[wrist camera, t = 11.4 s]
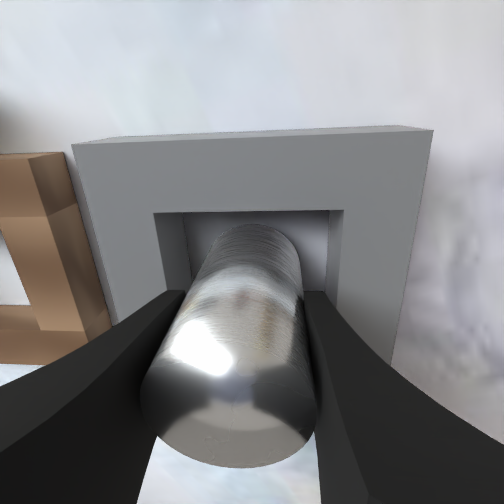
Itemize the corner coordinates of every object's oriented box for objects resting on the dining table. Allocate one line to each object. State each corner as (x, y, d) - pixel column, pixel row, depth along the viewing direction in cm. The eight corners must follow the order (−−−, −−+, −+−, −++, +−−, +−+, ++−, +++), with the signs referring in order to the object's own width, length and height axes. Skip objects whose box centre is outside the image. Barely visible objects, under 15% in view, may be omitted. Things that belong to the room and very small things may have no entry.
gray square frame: (366, 354, 16) (383, 404, 13) (161, 348, 17) (138, 393, 14) (398, 125, 12) (433, 129, 9) (116, 136, 13) (71, 144, 10)
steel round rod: (298, 308, 14) (312, 473, 8) (211, 306, 14) (155, 462, 8) (301, 223, 12) (322, 346, 6) (202, 224, 13) (122, 339, 6)
